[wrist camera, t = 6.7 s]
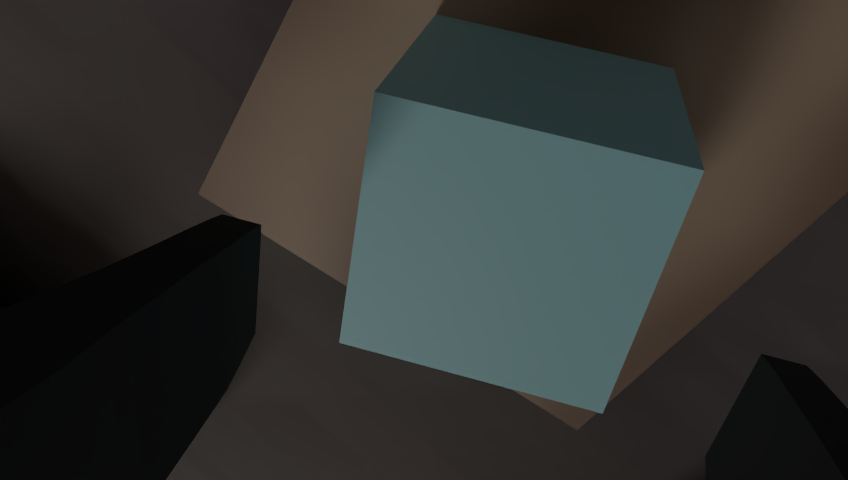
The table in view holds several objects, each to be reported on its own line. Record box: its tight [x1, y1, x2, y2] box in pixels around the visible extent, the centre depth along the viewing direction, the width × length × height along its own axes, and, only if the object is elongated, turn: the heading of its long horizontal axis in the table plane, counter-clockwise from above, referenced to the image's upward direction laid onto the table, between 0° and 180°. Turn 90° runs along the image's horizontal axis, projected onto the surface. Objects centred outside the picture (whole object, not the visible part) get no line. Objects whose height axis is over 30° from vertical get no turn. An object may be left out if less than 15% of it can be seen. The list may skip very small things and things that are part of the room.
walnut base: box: [198, 0, 848, 430], centre depth 17 cm, size 12×12×2 cm
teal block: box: [339, 14, 704, 414], centre depth 14 cm, size 5×5×5 cm
